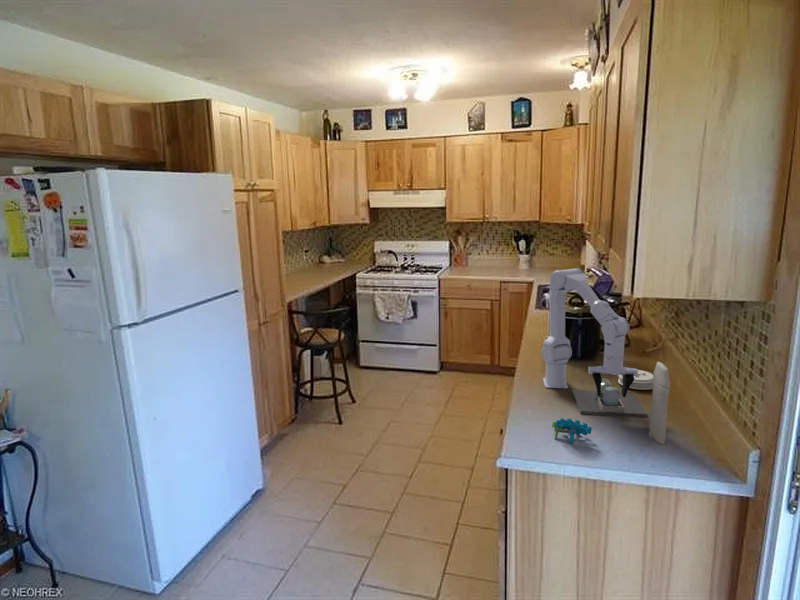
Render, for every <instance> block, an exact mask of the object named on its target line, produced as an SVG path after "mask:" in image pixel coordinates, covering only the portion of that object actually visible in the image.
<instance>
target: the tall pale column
mask: <svg viewBox="0 0 800 600" xmlns="http://www.w3.org/2000/svg"><path fill="white" fill-rule="evenodd" d="M652 374H653V389H652V397H651V398H652V399H651V405H650V415H649V423H648V424H649V425H648V436H649V438H652V439H654V441H656V442H657V444H660V445H665V443H666V433H667V420H668V418H667V415H668V414H667V412H668V401H669V395H670V390H671V389H670V387H671V380H670V372H669V368H668V366H667V365H666V364H664V363H663V362H660V361H657V362H656V364H655V368H654V371H653V373H652Z"/></svg>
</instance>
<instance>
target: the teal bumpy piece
mask: <svg viewBox="0 0 800 600" xmlns="http://www.w3.org/2000/svg"><path fill="white" fill-rule="evenodd" d="M551 427H552V428H554V431H555V432H554V433H555V434H554V439H555V440H557V439H558V436H559V435H558V434H559V433H563V434H570V435H569V438H568V439H569V441H568V443H569V444H571V445H573V443H574V438H575V435H576V436H580V435H581V434H582V435H583V436H588V435H591V434H592V431H593V428H592V427H591V426H589V424H587V422H583V423H582V424H581V420H578V419H576V420H574V421H573V420H572V419H571V418H566V419H564V418H559V420H558V419H557V420H556V421H553V422H551Z"/></svg>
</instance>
